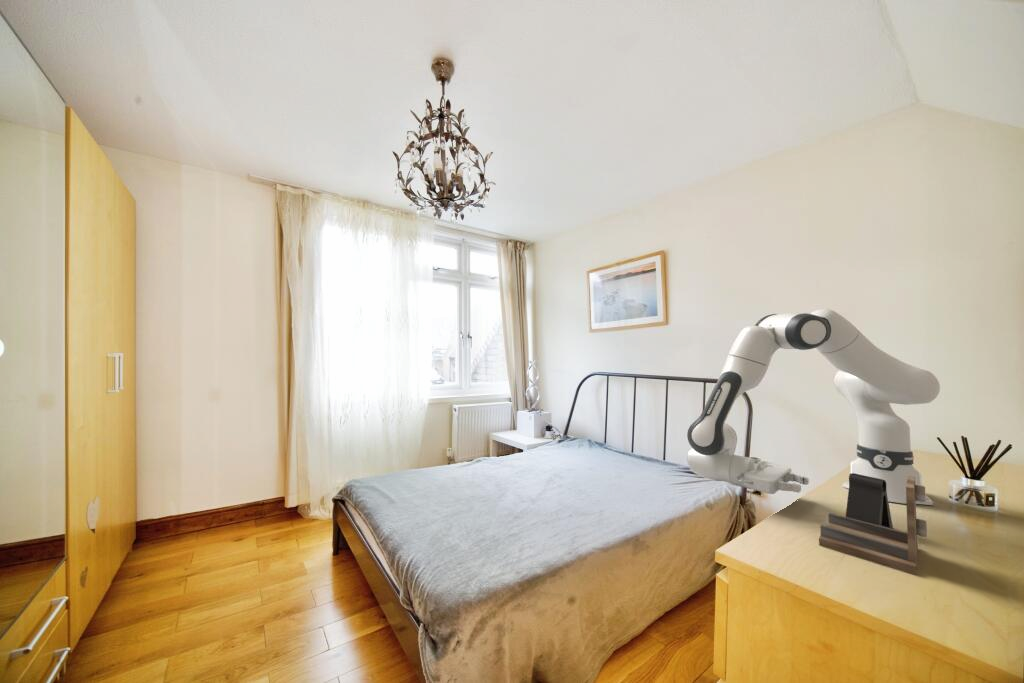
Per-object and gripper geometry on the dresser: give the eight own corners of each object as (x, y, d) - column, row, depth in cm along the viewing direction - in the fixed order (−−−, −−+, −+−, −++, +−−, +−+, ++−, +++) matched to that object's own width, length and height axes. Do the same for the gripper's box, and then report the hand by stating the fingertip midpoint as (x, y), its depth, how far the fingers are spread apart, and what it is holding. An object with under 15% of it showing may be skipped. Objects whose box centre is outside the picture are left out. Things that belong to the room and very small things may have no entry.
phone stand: (877, 536, 83) (876, 483, 83) (844, 525, 88) (843, 475, 89) (893, 528, 87) (891, 477, 88) (860, 518, 92) (858, 470, 93)
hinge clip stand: (831, 525, 88) (829, 460, 89) (927, 551, 76) (924, 476, 77) (819, 545, 78) (817, 472, 79) (927, 578, 66) (924, 492, 67)
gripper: (733, 467, 101) (795, 481, 90) (756, 456, 114) (812, 466, 104) (733, 490, 100) (795, 506, 90) (756, 476, 114) (812, 488, 103)
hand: (804, 485), depth 97 cm, fingers open, 8 cm apart
